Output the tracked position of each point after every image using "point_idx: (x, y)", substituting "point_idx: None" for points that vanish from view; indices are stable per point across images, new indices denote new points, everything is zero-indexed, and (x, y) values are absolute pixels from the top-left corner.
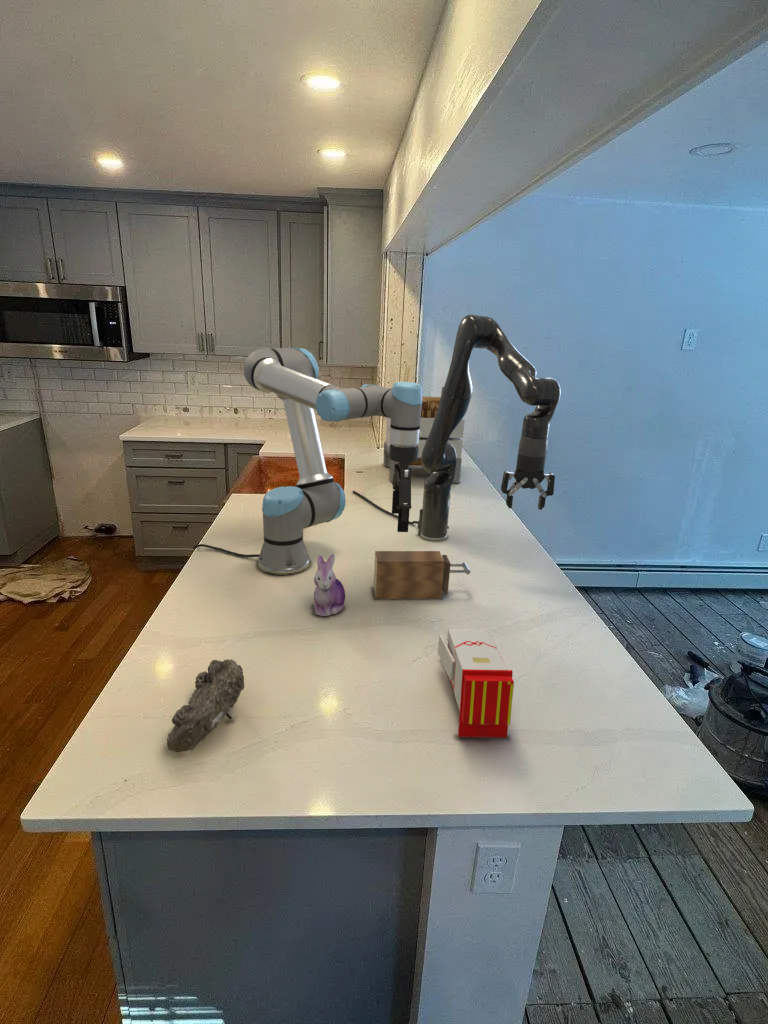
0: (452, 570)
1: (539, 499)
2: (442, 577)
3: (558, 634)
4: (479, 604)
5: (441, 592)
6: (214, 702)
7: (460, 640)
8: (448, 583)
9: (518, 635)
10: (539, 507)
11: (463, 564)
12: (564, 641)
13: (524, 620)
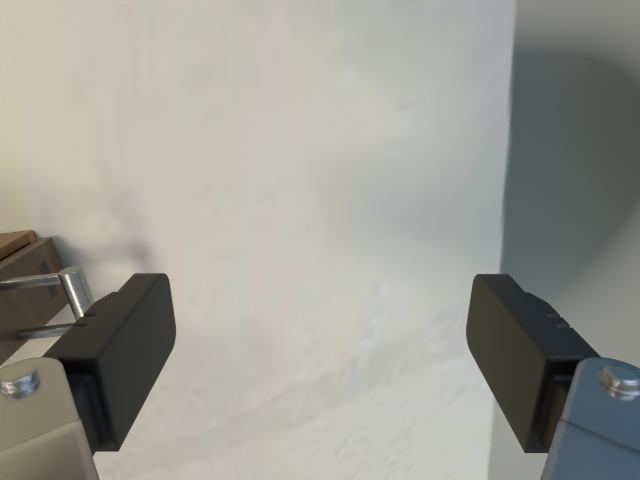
0: (29, 336)
1: (515, 353)
2: None
3: (373, 435)
4: (181, 321)
5: None
6: None
7: None
8: (50, 319)
9: (273, 445)
10: (474, 342)
11: (64, 290)
12: (378, 457)
13: (301, 387)
